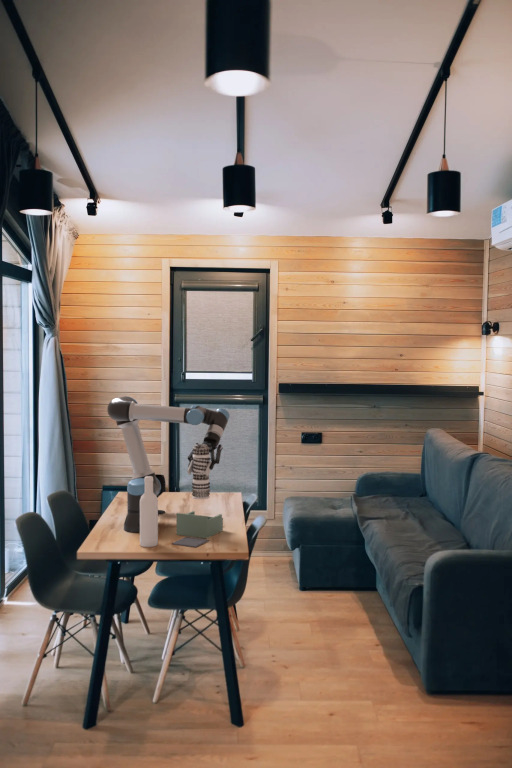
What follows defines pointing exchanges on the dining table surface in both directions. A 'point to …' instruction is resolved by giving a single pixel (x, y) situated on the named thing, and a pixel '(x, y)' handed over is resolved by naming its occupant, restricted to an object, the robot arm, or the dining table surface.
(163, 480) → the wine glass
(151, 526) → the bottle
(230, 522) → the dining table surface
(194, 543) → the mat
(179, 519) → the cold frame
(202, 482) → the decorative candle
